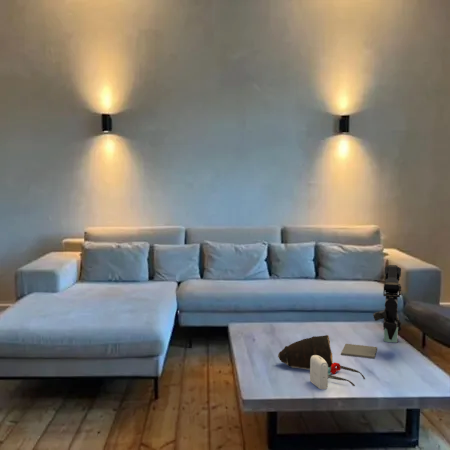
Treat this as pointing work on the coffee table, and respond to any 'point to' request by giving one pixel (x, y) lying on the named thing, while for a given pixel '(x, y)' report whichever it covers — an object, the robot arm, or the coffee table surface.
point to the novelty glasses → (334, 370)
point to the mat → (359, 351)
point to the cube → (386, 337)
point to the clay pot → (306, 352)
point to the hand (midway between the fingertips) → (390, 337)
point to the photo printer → (319, 372)
